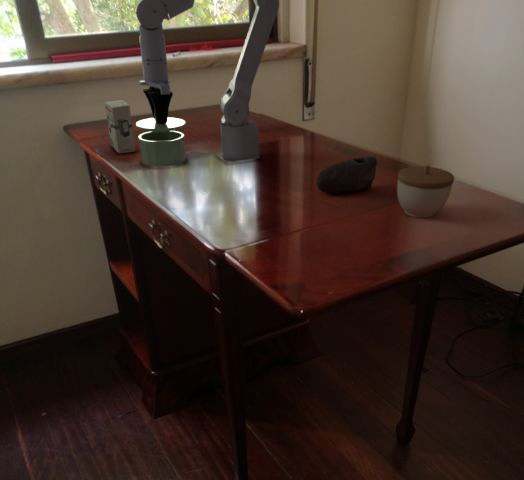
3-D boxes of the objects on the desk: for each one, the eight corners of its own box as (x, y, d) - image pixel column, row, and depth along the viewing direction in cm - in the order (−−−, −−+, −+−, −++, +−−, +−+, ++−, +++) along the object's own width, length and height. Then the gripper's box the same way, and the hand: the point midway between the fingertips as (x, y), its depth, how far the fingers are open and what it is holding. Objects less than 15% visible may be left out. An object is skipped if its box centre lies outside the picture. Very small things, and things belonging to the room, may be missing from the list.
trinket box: (437, 226, 103) (447, 178, 97) (385, 215, 107) (391, 168, 102) (452, 209, 110) (462, 163, 105) (403, 199, 115) (410, 155, 109)
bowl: (178, 153, 143) (176, 128, 140) (191, 165, 135) (189, 138, 131) (137, 158, 139) (133, 133, 136) (148, 170, 131) (144, 143, 127)
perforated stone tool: (320, 199, 115) (322, 166, 111) (310, 191, 119) (312, 159, 115) (381, 191, 119) (385, 159, 115) (369, 184, 123) (373, 153, 119)
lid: (177, 120, 138) (175, 96, 135) (192, 130, 129) (190, 105, 126) (131, 124, 134) (127, 100, 131) (143, 135, 125) (140, 110, 122)
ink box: (110, 146, 149) (103, 101, 142) (127, 144, 151) (121, 99, 144) (118, 154, 143) (111, 107, 136) (136, 151, 145) (130, 105, 138)
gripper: (129, 56, 127) (137, 116, 135) (145, 64, 116) (152, 129, 124) (158, 54, 130) (164, 114, 137) (176, 62, 119) (181, 126, 127)
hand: (160, 121), depth 131 cm, fingers closed on lid, 2 cm apart
